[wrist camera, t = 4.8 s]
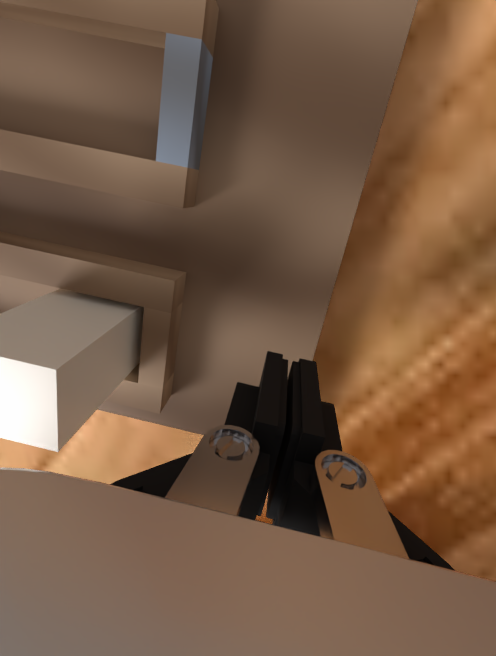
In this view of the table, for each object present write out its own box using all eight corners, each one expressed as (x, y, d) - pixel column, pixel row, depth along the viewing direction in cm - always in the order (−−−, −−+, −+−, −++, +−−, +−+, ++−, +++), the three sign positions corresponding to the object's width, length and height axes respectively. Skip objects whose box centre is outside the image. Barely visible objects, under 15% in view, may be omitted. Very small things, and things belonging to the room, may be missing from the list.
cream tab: (140, 361, 15) (58, 451, 10) (67, 344, 15) (-53, 425, 10) (144, 303, 14) (56, 370, 9) (67, 285, 14) (-66, 340, 9)
